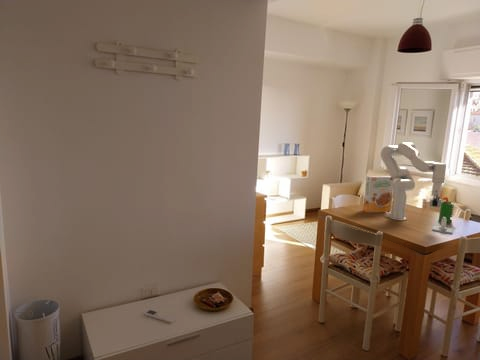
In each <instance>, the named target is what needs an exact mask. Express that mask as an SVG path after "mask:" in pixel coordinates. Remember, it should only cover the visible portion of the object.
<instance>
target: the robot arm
mask: <svg viewBox="0 0 480 360" xmlns="http://www.w3.org/2000/svg"><path fill="white" fill-rule="evenodd" d="M416 148H417V147H416V145H415V144H414V143H413V142H401V143H398V144H397V145H385V146H384V147H383V148H382V149H381V152H380V158H381V160H382V162H383V163H384V166H385V167H386V169H387V172H388V174H389V176H391V178H393V179H394V183H393V195H392V204H391V207H392V208H391V211H389V212H387V211H386V212H385V215H388V218H389V219H390V220H391V219H392V220H394V221H406V220H407V217H405V215H406V207H407V206H406V205H407V198H408V197H407V193H406V192H410V191H413V190H414V189H415V187H416V182H415V180H414V178H413V175H412V174H411V173H410V170H409V169H408V168H406V167H405V166H399V164H398V162H397V160H396V159H394V158H393V157H400V156H404V157H405V158H407V159H408V160H409V161H410V163H411V165H412V166H413V167H414V168H415V169H416V170H418V171H420V172H421V173H432V179H431V183H432V188H431V193H430V194H431V195H430V196H431V197H433V202H432V206H437V204H438V201H437V200H438V199H440V196H441V193H442V189H443V188H442V187H443V184H445V178H446V169H447V165H446V163H444V162H435V161H424V160H422V159H421V158H420V151H418V150H417V149H416ZM432 206H431V207H432Z"/></svg>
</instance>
